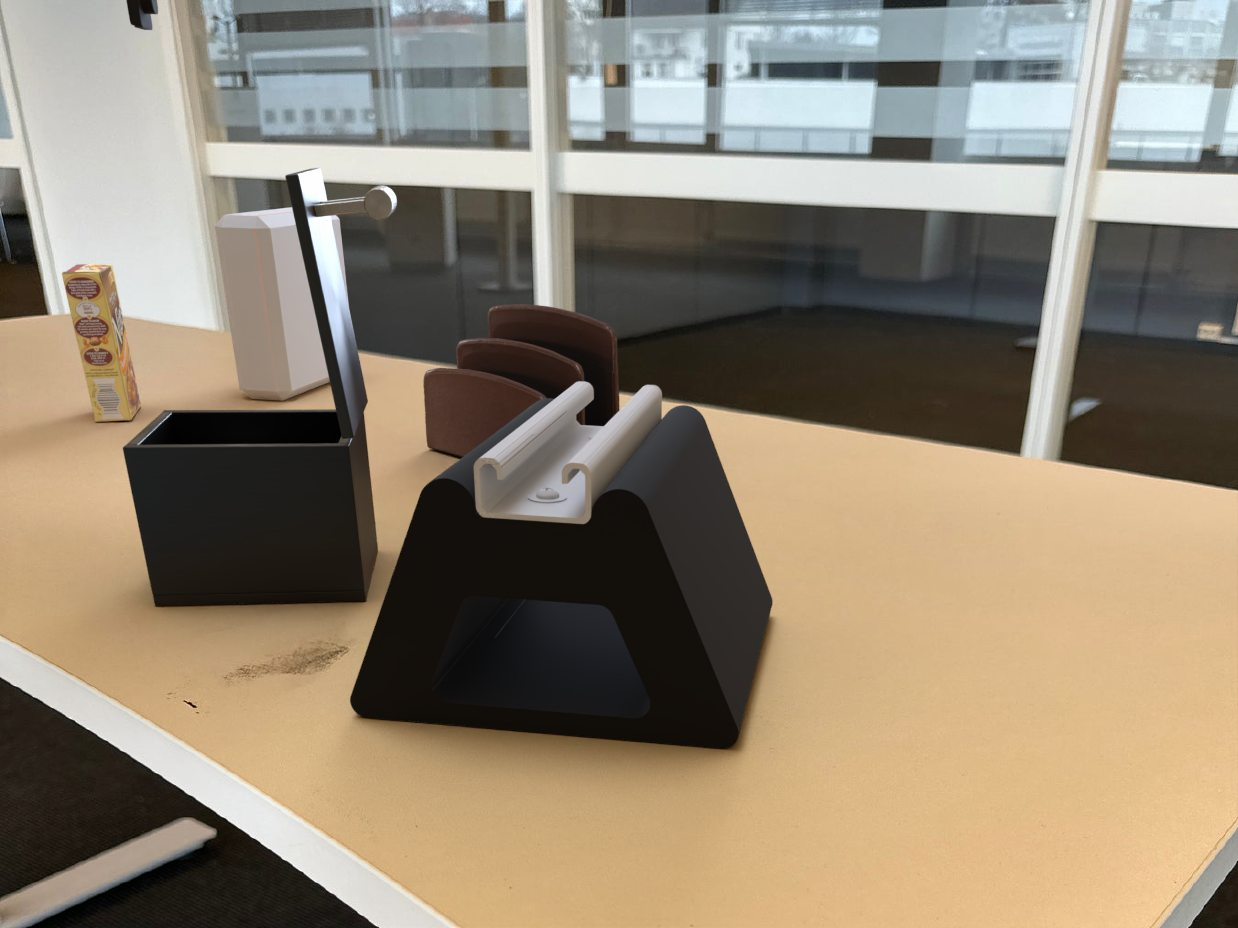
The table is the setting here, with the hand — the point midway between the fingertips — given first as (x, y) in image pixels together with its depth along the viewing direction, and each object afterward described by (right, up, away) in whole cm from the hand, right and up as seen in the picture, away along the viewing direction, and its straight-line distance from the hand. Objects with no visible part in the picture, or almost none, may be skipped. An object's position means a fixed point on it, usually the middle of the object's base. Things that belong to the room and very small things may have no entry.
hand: (63, 25), depth 78 cm
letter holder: (+24, -11, +48) cm, 55 cm away
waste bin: (+9, -32, +14) cm, 36 cm away
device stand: (+33, -41, +1) cm, 53 cm away
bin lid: (+15, -15, +5) cm, 22 cm away
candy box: (-25, -1, +63) cm, 68 cm away
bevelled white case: (-9, +9, +81) cm, 82 cm away
